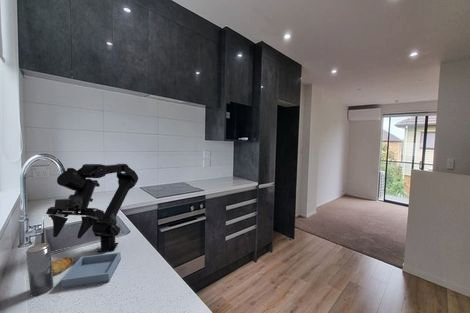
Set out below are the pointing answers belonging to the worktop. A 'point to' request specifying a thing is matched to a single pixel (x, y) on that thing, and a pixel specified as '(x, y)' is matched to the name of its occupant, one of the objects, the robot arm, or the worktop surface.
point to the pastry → (61, 265)
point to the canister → (39, 269)
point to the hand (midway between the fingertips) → (66, 237)
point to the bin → (91, 270)
